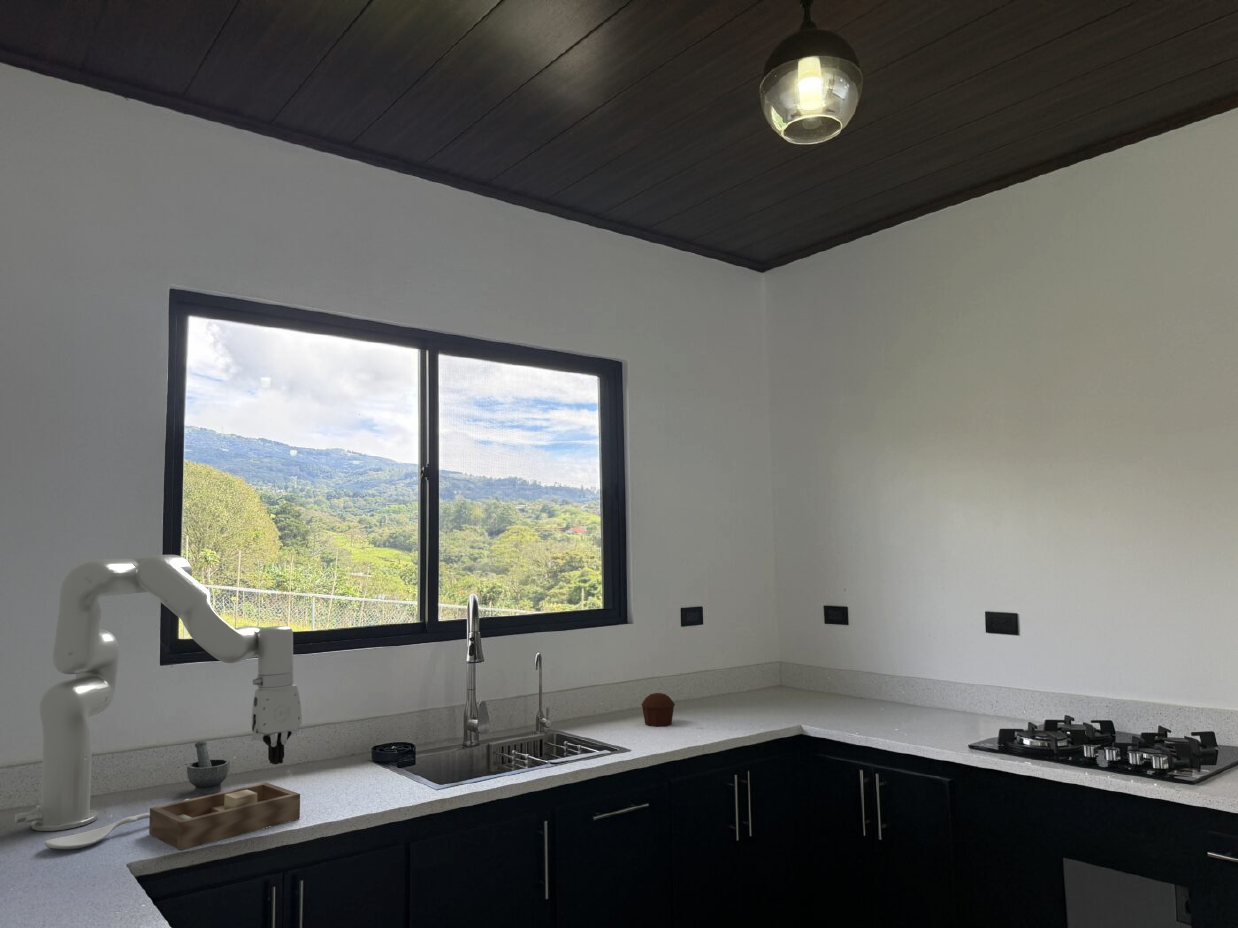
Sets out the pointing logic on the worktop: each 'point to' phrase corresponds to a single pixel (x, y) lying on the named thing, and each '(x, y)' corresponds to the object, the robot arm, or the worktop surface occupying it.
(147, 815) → the spoon
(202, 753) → the mortar and pestle
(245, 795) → the maple block
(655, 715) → the muffin
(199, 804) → the box
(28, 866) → the worktop surface
